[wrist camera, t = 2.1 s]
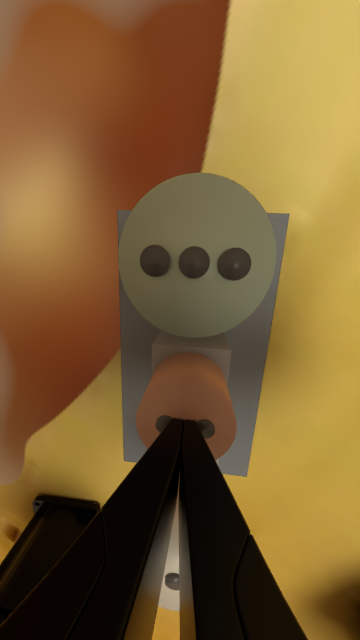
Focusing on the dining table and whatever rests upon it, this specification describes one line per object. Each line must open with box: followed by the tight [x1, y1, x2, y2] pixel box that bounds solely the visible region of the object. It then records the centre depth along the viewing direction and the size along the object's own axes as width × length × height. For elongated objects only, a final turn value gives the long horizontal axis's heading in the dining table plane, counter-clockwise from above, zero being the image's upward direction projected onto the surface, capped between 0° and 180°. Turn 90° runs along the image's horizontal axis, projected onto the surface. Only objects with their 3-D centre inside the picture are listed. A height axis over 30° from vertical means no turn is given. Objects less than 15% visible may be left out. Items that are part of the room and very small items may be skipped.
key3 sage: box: [118, 173, 276, 338], centre depth 7 cm, size 4×4×5 cm
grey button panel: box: [117, 210, 289, 477], centre depth 12 cm, size 9×17×4 cm, turn 177°
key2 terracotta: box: [136, 352, 237, 460], centre depth 9 cm, size 4×4×5 cm
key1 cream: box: [158, 477, 180, 611], centre depth 9 cm, size 4×4×5 cm
